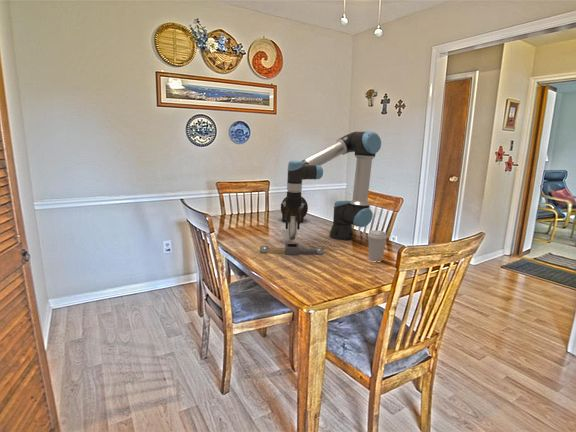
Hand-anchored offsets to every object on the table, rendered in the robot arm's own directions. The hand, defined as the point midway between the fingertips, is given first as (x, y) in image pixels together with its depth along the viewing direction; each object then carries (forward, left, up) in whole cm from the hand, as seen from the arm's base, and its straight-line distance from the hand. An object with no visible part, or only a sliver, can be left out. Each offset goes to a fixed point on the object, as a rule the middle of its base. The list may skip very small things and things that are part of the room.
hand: (292, 235), depth 177 cm
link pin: (0, 0, -2) cm, 2 cm away
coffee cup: (-43, +9, -10) cm, 45 cm away
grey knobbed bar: (0, 0, -10) cm, 10 cm away
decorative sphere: (-4, -71, -10) cm, 72 cm away
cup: (+4, -20, -10) cm, 23 cm away
